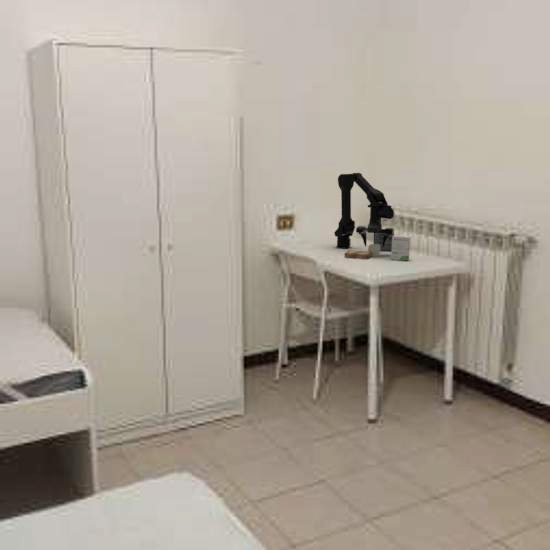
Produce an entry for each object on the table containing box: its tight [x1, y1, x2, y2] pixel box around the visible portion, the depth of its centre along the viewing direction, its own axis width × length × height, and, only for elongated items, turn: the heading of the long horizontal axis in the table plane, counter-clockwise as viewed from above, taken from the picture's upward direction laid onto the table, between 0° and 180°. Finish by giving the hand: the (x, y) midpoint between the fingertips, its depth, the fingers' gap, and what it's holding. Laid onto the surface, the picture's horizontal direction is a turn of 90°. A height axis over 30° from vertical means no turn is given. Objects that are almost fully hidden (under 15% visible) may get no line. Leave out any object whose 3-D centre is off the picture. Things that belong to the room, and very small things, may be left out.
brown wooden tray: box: [344, 249, 373, 260], centre depth 359 cm, size 12×10×2 cm
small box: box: [373, 232, 395, 252], centre depth 378 cm, size 11×6×10 cm, turn 84°
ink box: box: [390, 235, 411, 261], centre depth 352 cm, size 9×5×12 cm, turn 71°
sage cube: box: [368, 243, 381, 256], centre depth 366 cm, size 5×5×5 cm
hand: (374, 246), depth 366 cm, fingers open, 9 cm apart
